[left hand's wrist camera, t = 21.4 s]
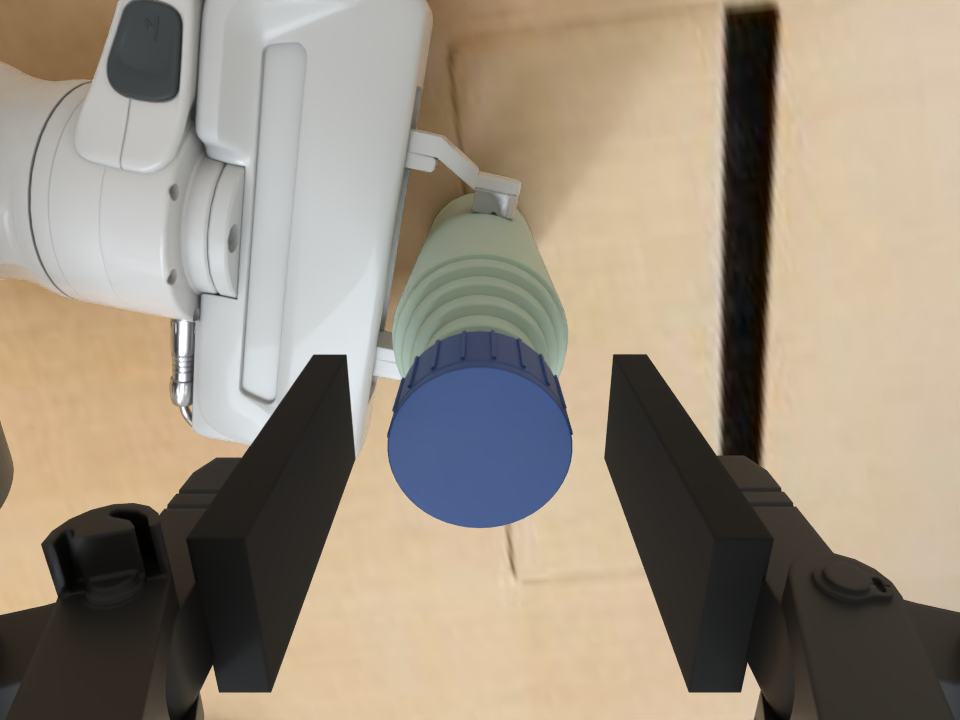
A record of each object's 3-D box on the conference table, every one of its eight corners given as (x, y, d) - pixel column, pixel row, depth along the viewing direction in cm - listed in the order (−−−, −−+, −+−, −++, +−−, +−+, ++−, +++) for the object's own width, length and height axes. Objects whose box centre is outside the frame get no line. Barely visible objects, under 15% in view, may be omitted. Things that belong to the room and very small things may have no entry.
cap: (375, 443, 15) (359, 495, 13) (432, 301, 14) (424, 334, 12) (520, 495, 16) (527, 553, 13) (589, 363, 14) (607, 405, 12)
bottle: (486, 313, 34) (494, 577, 15) (408, 251, 33) (304, 450, 13) (552, 238, 32) (658, 421, 13) (473, 169, 31) (462, 261, 12)
